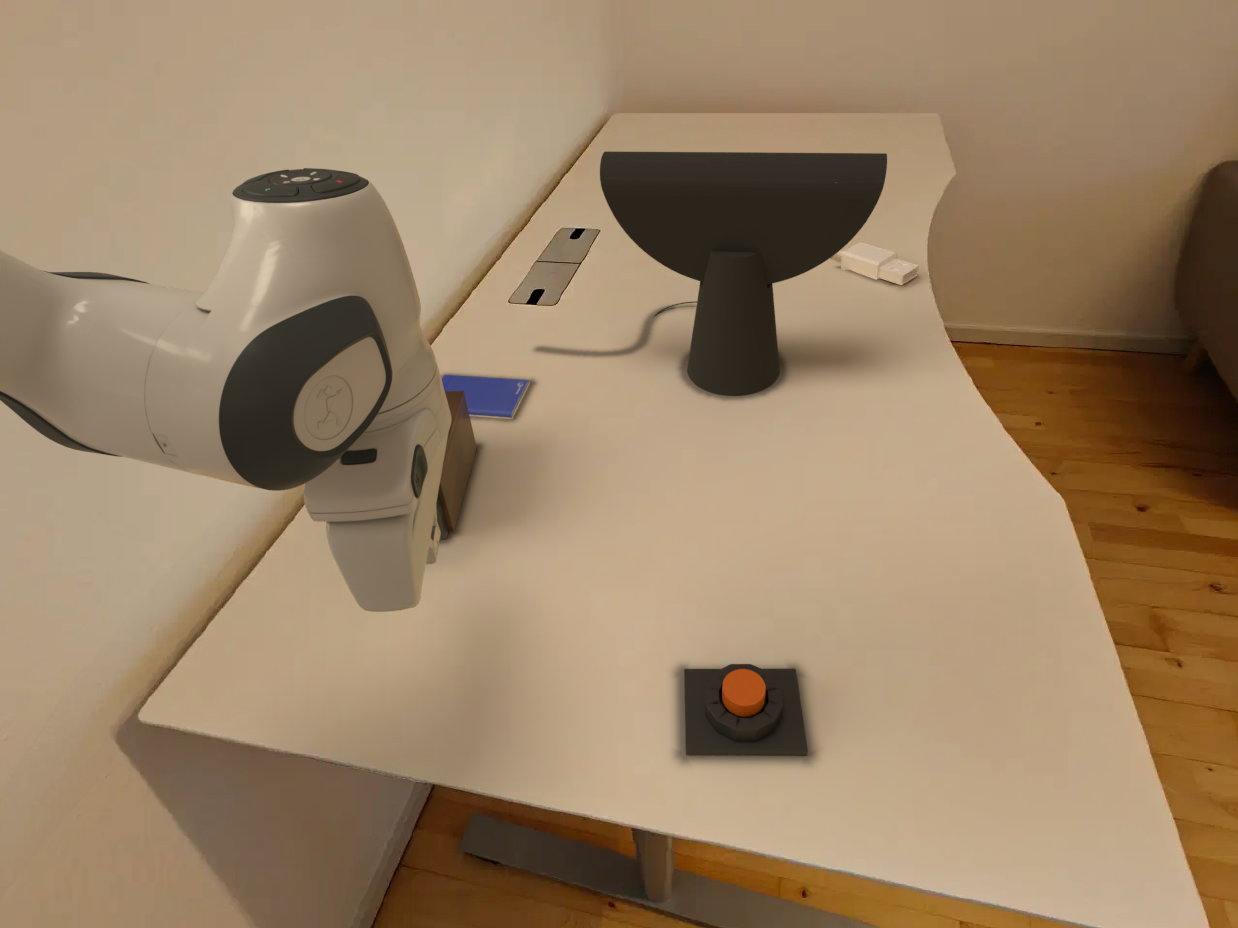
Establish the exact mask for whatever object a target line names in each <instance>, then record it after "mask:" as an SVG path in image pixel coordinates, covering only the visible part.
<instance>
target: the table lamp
mask: <svg viewBox="0 0 1238 928" xmlns="http://www.w3.org/2000/svg"><path fill="white" fill-rule="evenodd" d="M887 154H888V153H885V152H883V153H881V152H878V153H877V152H873V153H872V152H871V153H870V152H763V151H762V152H755V151H754V152H752V151H751V152H750V151H749V152H748V151H747V152H745V151H742V152H741V151H738V152H737V151H604V152H602V155H601V158H600V164H599V181H600V186H601V191H602V193H603V196H604V199H605V201H606V204H607V206H608V207H609V210H610V211H611V214H612V215H613V217H614V218H615V220H616V222H617V223H618V225H619V226H620V227H621V229H622V230H623V231H624V233H625V234H626V235H627V236H628V237H629V238H630V240H631V241H633V243H634V244H635V245H637V247H638V248H640V250H642V252H644V253H645V254H647V256H648V257H650V258H652V259H653V260H654V261H656V262H658V263H659V264H661V265H662V266H664V267H665V268H667V269H669V270H671V271H673V272H675V273H677V274H679V275H681V276H684V277H686V278H689V279H692V280H695V281H698V282H699V287H698V294H697V300H696V301H684V302H679V303H675V304H672V305H669V306H667V307H664V308H662V309H661V310H659V311H658V312H657V313H656V314H655V315H653V318H654V317H656V316H657V315H658V314H660V313H661V312H663V311H665V310H667V309H669V308H671V307H675V306H678V305H684V304H694V303H696V308H695V314H694V321H693V328H692V335H691V342H690V347H689V355H688V361H687V367H686V372H687V376H688V378H689V379H690V381H691V382H692V384H694V385H695V386H696V387H698V388H699V389H701V390H703V391H705V392H708V393H711V394H714V395H718V396H725V397H743V396H744V397H745V396H750V395H754V394H758V393H760V392H763V391H765V390H767V389H768V388H770V387H772V385H774V384H775V383H776V381H777V380H778V378H779V376H780V371H781V369H780V356H779V346H778V334H777V333H778V332H777V323H776V310H775V309H776V308H775V298H774V297H775V296H774V287H773V286H774V285H773V284H777V283H780V282H785V281H787V280H790V279H793V278H796V277H798V276H801V275H803V274H805V273H808V272H810V271H811V270H813V269H815V268H817V267H818V266H820V265H822V264H823V263H825V262H827V261H828V260H829V259H831V258H833V257H834V256H835V255H837V254H836V253H837V252H839V251H840V250H842V249H844V247H846V246H847V245H849V243H850V242H851V241H852V240H853V239H854V238H855V236H856V235H857V234H858V233H859V232H860V231H861V230H862V228H863V227H864V226H865V225H866V223H867V221H868V220H869V218H870V217H871V215H872V213H873V211H874V209H875V208H876V206H877V204H878V202H879V201H880V197H881V195H882V192H883V190H884V187H885V182H886V177H887V170H888V155H887Z"/></svg>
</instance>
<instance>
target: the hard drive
mask: <svg viewBox="0 0 1238 928" xmlns="http://www.w3.org/2000/svg"><path fill="white" fill-rule="evenodd" d="M441 379H442V383H443V387H444V391H464V395H465V399H466V403H467V408H468V412H469V416H470V417H481V418H492V419H493V418H494V419H506V420H513V419H514V418H515V417H514V416H515V415H516V413H517V410H518V409H519V407H520V405H521V403H522V401H523V400H524V399H523V398H524V397H525V395H526V392H527V391H528V389H529V387H530V384H531V380H530V379H520V378H519V379H518V378H505V377H490V376H489V377H488V376H474V375H473V376H472V375H458V374H444V375H443V376H442V377H441Z"/></svg>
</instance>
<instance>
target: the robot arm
mask: <svg viewBox="0 0 1238 928" xmlns="http://www.w3.org/2000/svg"><path fill="white" fill-rule="evenodd" d="M230 209H231V214H232V215H231V216H232V220H233V224H232V225H233V226H232V232H231V236H230V239H229V243H228V247H227V250H226V252H225V254H224V257H223V260H222V262H221V264H220V267H219V269H218V271H217V273H216V274H215V276H214V278H213V279H212V281H211V283H210V284H209V285H208V287H207V288H206V289H205V290H204V291H198V290H192V289H186V288H180V287H173V286H166V285H161V284H160V285H159V284H154V283H153V284H152V283H149V282H148V281H147V282H146V281H144V280H139V279H135V278H130V277H125V276H120V275H116V274H111V273H106V272H98V271H97V272H94V271H47V270H42V269H40V268H36V266H33V265H31V264H29V263H27V262H25V261H23V260H21V259H19V258H17V257H15V256H13V255H12V254H9V253H6V251H3V250H1V249H0V402H2V403H3V404H4V405H5V406H6V407H8V408H9V409H10V410H12V411H13V413H14V414H16V415H17V416H18V417H19V418H20V419H22V420H23V421H24V422H25V423H26V424H28V425H29V426H30V427H31V428H32V429H34V430H35V431H37V432H38V433H39V434H41V435H42V436H43V437H45V438H47V439H48V440H50V441H52V442H54V443H55V444H58V445H60V446H63V447H65V448H68V449H71V450H74V451H79V452H87V453H92V454H99V455H104V456H110V457H111V456H112V457H119V458H120V457H121V458H127V459H131V460H135V461H140V462H142V463H143V462H144V463H148V464H152V465H156V466H159V467H164V468H168V469H173V470H175V471H181V472H185V473H189V474H193V475H199V476H203V477H206V478H210V479H214V480H218V481H223V482H227V483H228V482H229V483H232V484H237V485H241V486H245V487H250V488H257V489H262V490H267V491H272V492H277V491H278V492H279V491H287V490H292V489H295V488H298V487H300V486H302V485H304V489H303V503H304V507H305V509H306V512H307V514H308V516H309V518H310V519H311V520H312V521H313V522H318V523H319V522H321V523H322V522H323V523H324V522H325V530H326V537H327V543H328V545H329V549H330V551H331V552H330V553H331V555H332V557H333V559H334V561H335V564H336V566H337V568H338V570H339V572H340V574H341V577H342V579H343V580H344V582H345V584H346V586H347V588H348V590H349V592H350V594H351V595H352V597H353V599H354V601H355V603H357V605H358V606H359V607H360V608H361V609H362V610H364V611H367V612H370V613H371V612H372V613H386V612H387V613H389V612H398V611H404V610H408V609H413V608H415V607H417V606H418V605H419V603H420V601H421V596H422V589H423V584H424V577H425V572H426V566H427V565H433V564H435V563H436V562H437V559H438V552H439V546H440V545H439V544H440V541H441V539H440V534H441V532H440V529H439V526H438V522H437V510H436V502H437V496H438V491H439V485H440V479H441V473H442V467H443V461H444V456H445V450H446V444H447V438H448V433H449V429H450V426H451V413H450V409H449V405H448V401H447V398H446V394H445V391H444V387H443V383H442V376H441V372H440V369H439V365H438V361H437V358H436V355H435V352H434V349H433V347H432V346H431V344H430V343H429V341H428V340H427V338H426V337H425V335H424V333H423V330H422V326H421V315H422V314H421V313H422V305H421V304H422V303H421V299H420V295H419V291H418V288H417V283H416V280H415V276H414V274H413V269H412V267H411V263H410V260H409V257H408V254H407V250H406V248H405V245H404V243H403V240H402V237H401V235H400V231H399V229H398V227H397V224H396V222H395V219H394V217H393V216H392V213H391V211H390V208H389V207H388V205H387V203H386V202H385V200H384V197H383V196H382V195H381V193H380V192H379V189H377V188H376V187H375V185H374V184H373V183H372V182H371V181H370V180H369V179H367V178H364V177H362V176H360V175H359V174H358V173H354V172H350V171H345V170H338V169H337V170H336V169H328V168H316V167H315V168H313V167H311V168H310V167H303V168H297V169H295V168H294V169H289V168H287V169H281V170H275V171H270V172H266V173H262V174H259V175H257V176H253V177H251V178H248V179H246V180H245V181H244V182H242V183H241V184H239V185H238V186H236V187H235V188H234V189H233V190H232V191H231V194H230Z"/></svg>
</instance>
